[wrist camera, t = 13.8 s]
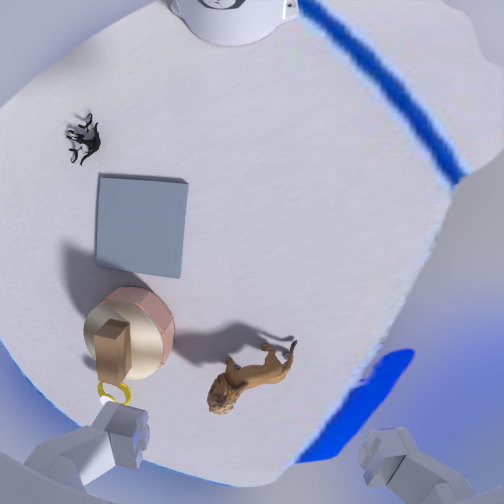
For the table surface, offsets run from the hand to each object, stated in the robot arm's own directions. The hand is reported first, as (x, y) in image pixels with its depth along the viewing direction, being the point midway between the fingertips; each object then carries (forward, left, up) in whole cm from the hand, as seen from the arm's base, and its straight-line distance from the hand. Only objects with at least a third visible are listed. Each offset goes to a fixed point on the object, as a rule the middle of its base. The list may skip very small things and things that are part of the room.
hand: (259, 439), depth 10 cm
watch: (+27, -21, -34) cm, 48 cm away
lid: (+14, -17, -28) cm, 36 cm away
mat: (-1, -17, -34) cm, 38 cm away
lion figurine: (+18, +1, -34) cm, 39 cm away
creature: (-13, -27, -34) cm, 46 cm away
